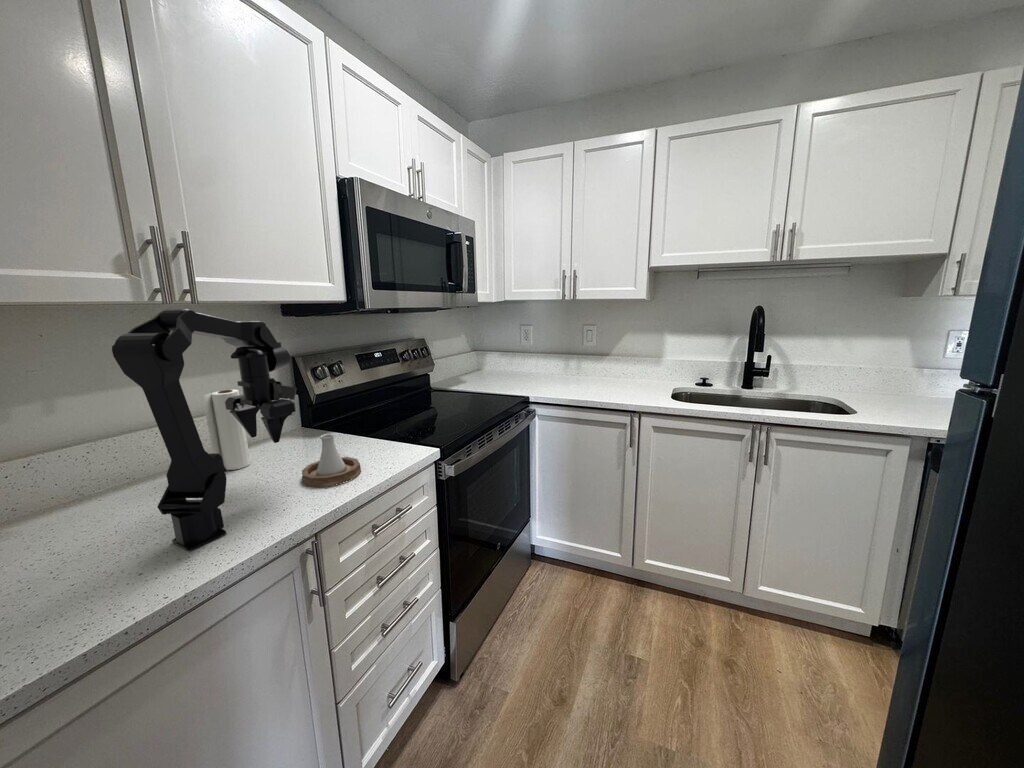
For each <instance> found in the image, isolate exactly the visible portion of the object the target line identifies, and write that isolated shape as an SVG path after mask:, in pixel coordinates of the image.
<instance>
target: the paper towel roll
mask: <svg viewBox="0 0 1024 768" xmlns="http://www.w3.org/2000/svg"><path fill="white" fill-rule="evenodd" d="M239 391H240V390H239V389H225V390H219V391H214V392H210V393H207V394H203V395H202V401H203V405H204V406H203V407H204V412H205V417H206V419H205V420H206V424H207V428H208V434H209V440H210V446H211V451H212V454H220V456H221V457H222V461H223V465H224V467H225V468H226V469H227V471H230V470H231V471H234V470H240V469H243V468H246V467H247V466H249V465H250V464H251V458H250V451H249V445H248V440H247V431H246V430H245V429H244V427H243V426H242V425H241V424H240V422H239V421H238V420H237V419H236V418H235V417H234V416H233V414H232V413H230V411H232V410H227V409H226V405H225V401H226V400H227V399H228V397H233V396H238V395H240V392H239Z"/></svg>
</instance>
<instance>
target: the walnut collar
mask: <svg viewBox="0 0 1024 768" xmlns="http://www.w3.org/2000/svg"><path fill="white" fill-rule="evenodd" d="M340 457H341V458H342V460H343V462H344V463H345V465H346V467H347V469H346V470H345V471H344V472H342V473H338V474H333V475H329V476H316V471H317V468H318V464H319V461H320V460H317V461H315V462H312V463H310V464H308V465H306V467H304V468H303V469H302V470H301V474H302V475H301V483H302V484H303V485H304V484H305V486H306V485H307V486H306V487H309V486H310V488H327V487H326V486H329V487H333V486H332V485H335V486H337V485H336V484H339V485H341V484H340V483H343V482H346V481H348V482H350V481H352V480H354V479H356V478H357V477H358V476H360V475H361V473H362V468H361V467H362V466H361V463H360V462H359V460H358V459H357V458H354V457H349V456H340ZM360 472H361V473H360ZM355 477H356V478H355ZM351 479H352V480H351ZM349 480H350V481H349ZM346 483H347V482H346ZM343 484H344V483H343Z"/></svg>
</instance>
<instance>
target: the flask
mask: <svg viewBox="0 0 1024 768" xmlns="http://www.w3.org/2000/svg"><path fill="white" fill-rule="evenodd" d="M334 439H335V433H334V434H333V433H325V434H323V435H321V436H320V440H321V444H322V445H321V453H320V457H319V460H318V461H319V464H318V468H317V471H316V476H329V475H333V474H338V473H342V472H344V471H345V470H346V469H347V467H346V465H345V463H344V462H343V460H342V458H341V457H342V456H341V455H340V453H339V452H338V449H337V447H336V444H335V440H334Z"/></svg>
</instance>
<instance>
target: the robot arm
mask: <svg viewBox="0 0 1024 768" xmlns="http://www.w3.org/2000/svg"><path fill="white" fill-rule="evenodd" d="M193 335H198V336H204V337H211V338H217V339H221V340H223V341H224V342H225V343H226V344H229V345H231V346H233V347H236V348H235V351H233V352H232V353H231V355H230V359H234V360H235V359H236V360H237V362H238V369H239V373H240V380H237V386H238V387H242V394H239V395H238V396H233V397H228V399H227V400H226V401H225V405H226V409H227V410H232V411H230V413H232V414H233V416H234V417H235V418H236V419H237V420H238V421H239V422H240V424H241V425H242V426H243V427H244V429H245V432H246V434H247V435H248V436H250V437H251V438H257V435H258V433H257V432H258V427H257V414H258V412H259V413H260V414H261V416H262V417H260V418H261V421H262V422H263V424H264V427H265V429H266V431H267V433H268V435H269V437H270V439H271V441H272V442H273V443H274V444H277V443H280V442H281V441H280V440H281V436H282V432H283V427H284V424H285V420H287V418H289V416H292V415H293V413H296V411H297V407H296V402H294V401H295V400H296V395H297V387H295V386H294V387H293V386H289V385H282V381H277V380H276V379H275V378H274V377H272V378H271V375H270V373H272V372H274V371H278V370H281V369H285V368H287V367H288V366H289V365H290V364H291V359H292V358H291V357H292V356H291V354H290V353H289V351H288V350H287V349H286V348H285V347H282V342H280V341H279V342H277V340H276V338H275V337H274V335H273V333H272V332H271V330H270V329H269V328H268V326H267V324H266V323H265V322H264V321H262V320H238V321H236V320H232V319H227V318H223V317H218V316H214V315H211V314H210V315H209V314H206V313H200V312H196V311H194V310H191V309H189V308H177V309H176V308H175V309H174V308H173V309H164V310H162V311H160V312H159V313H158V314H156V315H155V316H154V317H153V318H151V319H149V320H146V321H145V322H143V323H141V324H139V325H136V326H135V327H133V328H132V329H130V330H128V332H127V333H124V334H122V335H119V337H117V339H115V342H114V344H113V345H111V353H112V356H113V358H114V360H115V362H116V363H117V365H118V366H119V368H120V370H121V371H122V373H123V374H124V375H125V376H126V377H128V378H129V379H130V380H132V382H134V383H135V384H136V385H137V386H139V387H140V388H141V389H142V391H143V393H144V395H145V397H146V400H147V404H148V405H149V408H150V410H151V413H152V415H153V417H154V420H155V423H156V426H157V428H158V430H159V433H160V435H161V437H162V439H163V442H164V445H165V448H166V450H167V453H168V455H169V458H170V460H171V461H170V463H169V466H168V469H167V471H166V480H167V483H168V484H167V486H166V489H165V491H164V492H163V495H162V497H161V499H160V501H159V502H158V504H157V509H158V511H159V512H160V513H161V515H165V516H166V515H170V516H171V521H172V522H171V523H172V526H173V530H174V531H173V532H174V537H175V538H173V539H172V540H171V541H172V543H173V544H174V545H176V546H179V547H180V548H182V549H184V550H185V551H189V552H190V551H193V550H194V549H197V548H199V547H202V546H203V545H206V544H207V543H210V542H212V541H214V540H217V539H218V538H221V537H222V536H224V535H227V530H225V529H224V527H225V525H224V518H223V513H222V508H220V506H221V505H223V504H225V502H226V501H225V499H226V490H227V475H226V473H225V472H227V471H228V470H227V469H226V468H225V467H224V465H223V461H222V457H221V456H220V454H213V453H210V452H207V451H206V450H205V448H204V445H203V443H202V440H201V438H200V435H199V432H198V429H197V427H196V424H195V420H194V418H193V415H192V412H191V410H190V407H189V405H188V401H187V399H186V396H185V394H184V390H183V387H182V385H181V383H180V378H181V376H182V373H183V369H184V367H185V360H184V356H183V354H184V353H185V352H186V350H187V349H188V348H189V347H190V346H191V345H192V343H193V340H192V339H193Z"/></svg>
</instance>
